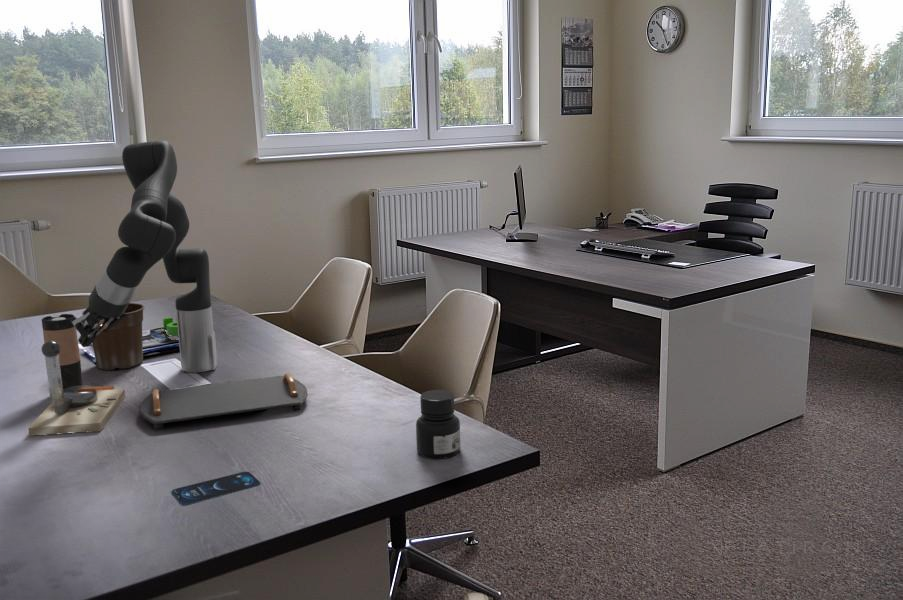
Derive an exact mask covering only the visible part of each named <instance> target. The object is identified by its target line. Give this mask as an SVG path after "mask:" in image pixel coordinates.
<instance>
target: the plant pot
mask: <svg viewBox="0 0 903 600" xmlns="http://www.w3.org/2000/svg"><path fill="white" fill-rule="evenodd" d="M144 309H145V305H144V304H142V303H137V302H136V303H135V302H130V303H129V305H128V306H127V308H126V310H125V311H124V312H125V313H126V317H124V318H123V319H122V320H121V321H119V322H118V323H117V324H115V325H114V326H113V327H112V328H110V329H109V330H108V331H106V332H103V331H102V332H101V333H100V334H99V335H98V336H96V338H95V339H94V341H93V342H92V344H91V345H92V348H93V353H94V357H95V358H94V359H95V363H96V367H97V368H98V369H99V370H103V371H114V370H115V369H120V370H124V369H131V368H135V367H137V366H138V365H140V364H142V363H143V361H144V352H143V350H144V349H143V322H144ZM84 311H85V310H84ZM84 311H82V312H81V316H82V315H83V312H84ZM109 324H110V323H109Z"/></svg>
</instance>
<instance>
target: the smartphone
mask: <svg viewBox="0 0 903 600" xmlns="http://www.w3.org/2000/svg"><path fill="white" fill-rule="evenodd" d="M261 483H262V482H261V481H260V480H259V479H257V478H256V477H255V476H254V475H253V474H252V473H251V472H250V471H240V472H237V473H233V474H229V475H224V476H221V477H217V478H214V479H212V478H211V479H209V480H208V479H207V480H205V481H202V482H197V483H193V484H189V485H185V486H181V487H177V488H174V489H172V490H171V494H172V495H173V496H174V498H175V499H176V500H177V502H178V503H179V502H180V503H179V504H180V505H181V504H182V506H189V505H192V504H191V503H193V504H196V503H200V502H199V501H201V502H203V501H202V500H204V501H207V500H206V499H208V500H211V499H210V498H212V499H214V498H213V497H215V498H218V497H217V496H219V497H221V496H220V495H222V496H225V495H224V494H226V495H229V494H228V493H230V494H232V492H233V493H236V491H237V492H240V491H239V490H241V491H244V490H248V489H251V488H256V487H258V486H260V485H261ZM255 486H256V487H255ZM243 489H244V490H243ZM195 502H196V503H195ZM188 504H189V505H188Z"/></svg>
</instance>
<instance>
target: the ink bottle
mask: <svg viewBox="0 0 903 600" xmlns="http://www.w3.org/2000/svg"><path fill="white" fill-rule="evenodd" d="M420 413H421V416H420V417H418V418H417V419H416V422H415V432H416V434H415V435H416V436H415V437H416V439H415V440H416V451H417V453H418V454H419V455H420V456H423V457H426V458H429V457H431V458H430V459H437V458H440V459H445V458H444V457H448V458H450V457H449V456H451V457H453V456H455V455H457V454H458V453H459V452H460V451H461V421H460V418H459V417H458V416H457V415H455V414H454V413H455V393H453V392H451V391H449V390H444V389H433V390H428V391H424V392H422V393H421V394H420ZM452 455H453V456H452Z"/></svg>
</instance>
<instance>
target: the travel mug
mask: <svg viewBox="0 0 903 600" xmlns="http://www.w3.org/2000/svg"><path fill="white" fill-rule="evenodd" d="M72 317H76V316H75V315H74V314H70V313H62V314H60V315H58V316H52V315H48V316H44V317H42V318H41V325H42V326H41V327H42V333H43V334H42V335H43V341H44V343H45V342H47V341H55V342H57V343H58V344H59V346H60V352H59V362H60V370H61V378H62V386H63V389H64V388H68V387H72V386H80V385H83V375H82V365H81V364H82V363H81V353H80V347H79V341H78V339H79V338H78V332H77V329H76V328H75V326H74V325H73V323H72V322H71V320H70V319H71V318H72ZM44 343H43V344H44Z"/></svg>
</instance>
